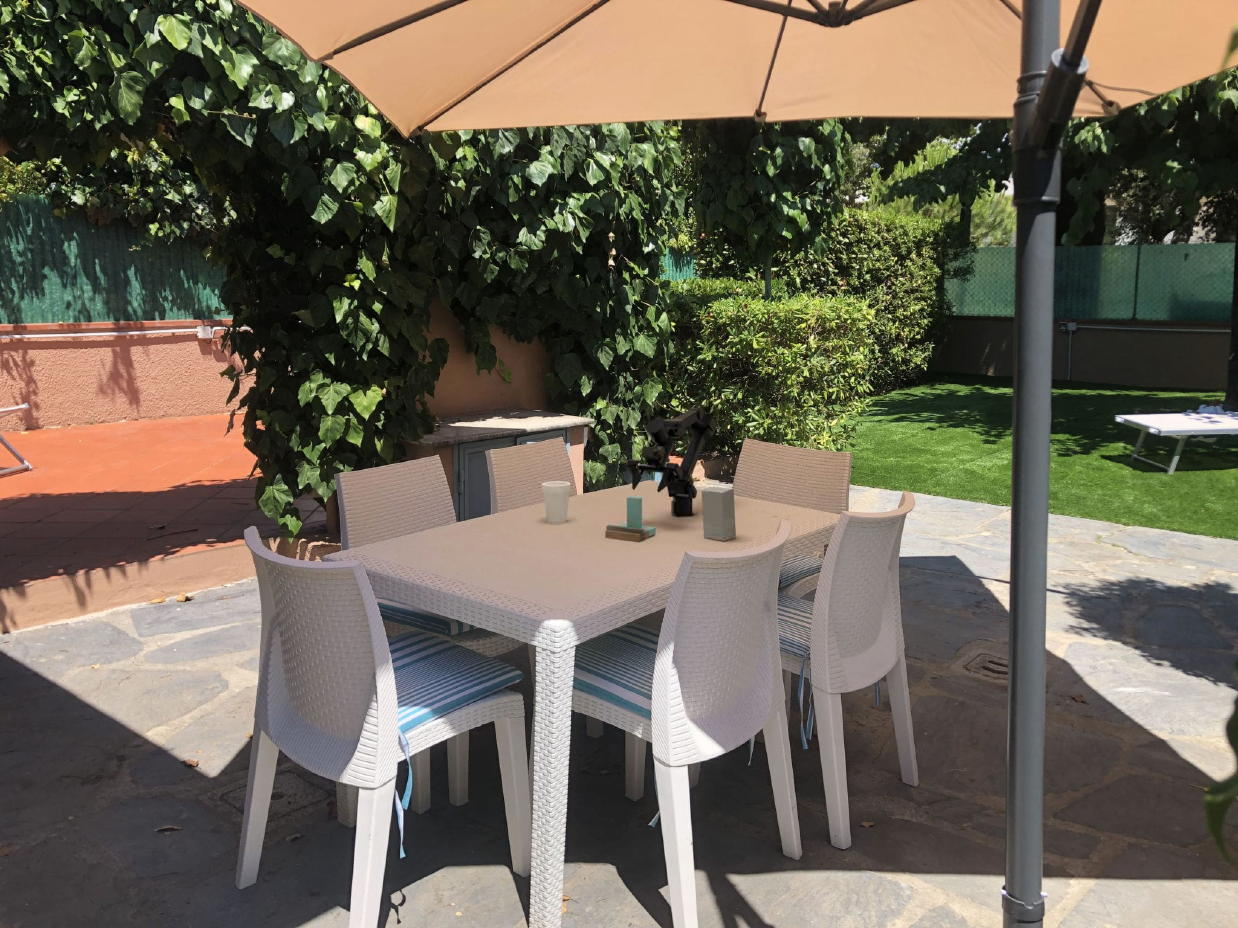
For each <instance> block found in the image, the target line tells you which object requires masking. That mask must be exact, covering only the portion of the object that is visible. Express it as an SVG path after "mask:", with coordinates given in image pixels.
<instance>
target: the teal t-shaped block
mask: <svg viewBox="0 0 1238 928" xmlns="http://www.w3.org/2000/svg"><path fill="white" fill-rule="evenodd" d="M617 526H622V527H630V528H638V529H644V530H648V531H649V537H652V536H654V535H656V532H657V531H656V528H657V527H652V526H644V525H643V497H639V496H638V497H637V496H627V497H626V523H621V524H619V525H617Z"/></svg>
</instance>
